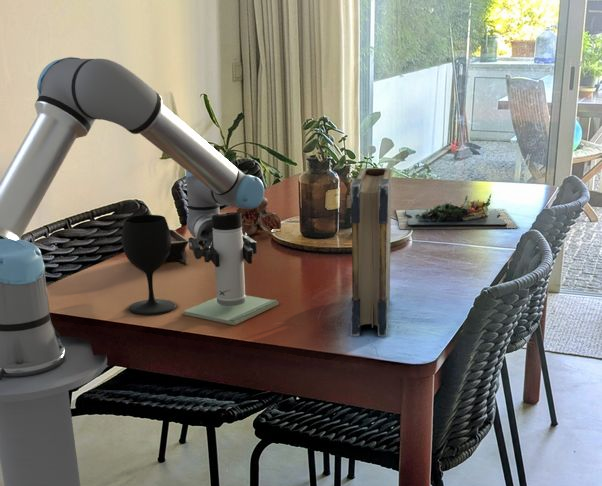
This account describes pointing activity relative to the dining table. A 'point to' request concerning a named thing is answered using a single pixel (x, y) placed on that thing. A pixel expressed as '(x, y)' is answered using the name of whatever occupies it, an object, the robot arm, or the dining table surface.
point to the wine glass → (147, 256)
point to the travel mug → (229, 259)
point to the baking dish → (177, 248)
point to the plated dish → (455, 217)
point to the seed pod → (259, 219)
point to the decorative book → (370, 249)
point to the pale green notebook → (231, 310)
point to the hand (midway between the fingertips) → (233, 259)
